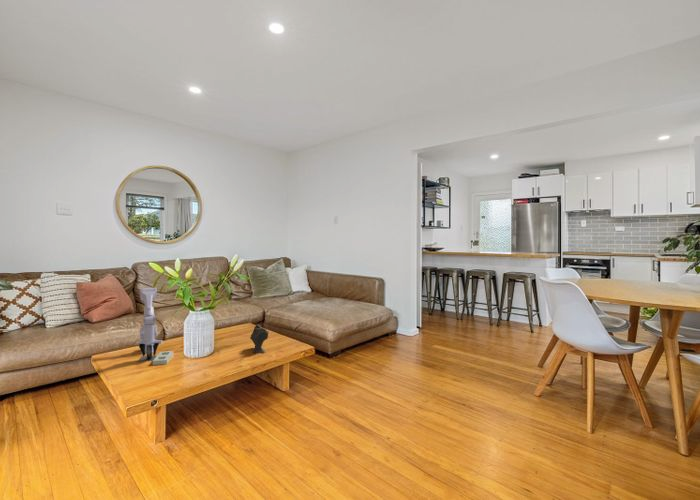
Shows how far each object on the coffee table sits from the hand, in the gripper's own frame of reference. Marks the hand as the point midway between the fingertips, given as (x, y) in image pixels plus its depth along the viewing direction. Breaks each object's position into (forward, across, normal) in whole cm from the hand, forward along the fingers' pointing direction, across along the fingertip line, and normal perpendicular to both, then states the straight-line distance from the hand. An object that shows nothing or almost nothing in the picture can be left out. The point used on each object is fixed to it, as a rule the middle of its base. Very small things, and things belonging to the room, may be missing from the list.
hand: (149, 355), depth 215 cm
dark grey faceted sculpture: (+3, +69, +7) cm, 69 cm away
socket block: (+3, +9, -3) cm, 10 cm away
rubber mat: (+3, -1, +1) cm, 3 cm away
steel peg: (+3, 0, 0) cm, 3 cm away
